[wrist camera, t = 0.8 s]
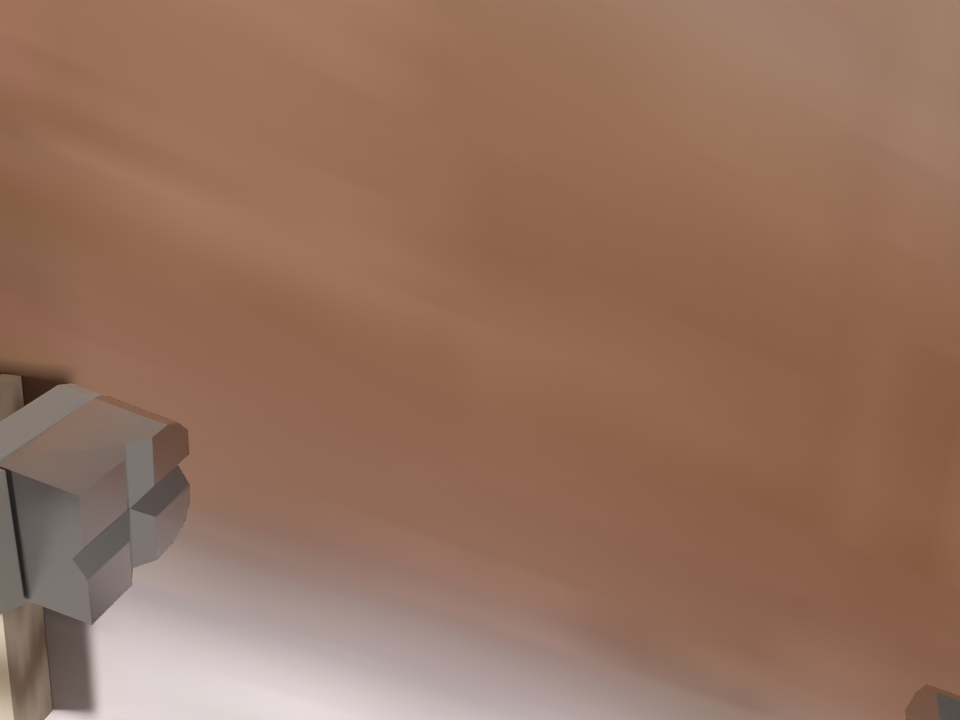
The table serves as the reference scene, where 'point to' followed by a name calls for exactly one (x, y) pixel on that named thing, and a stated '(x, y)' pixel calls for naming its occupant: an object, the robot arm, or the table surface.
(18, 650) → the driftwood frame
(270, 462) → the table surface
